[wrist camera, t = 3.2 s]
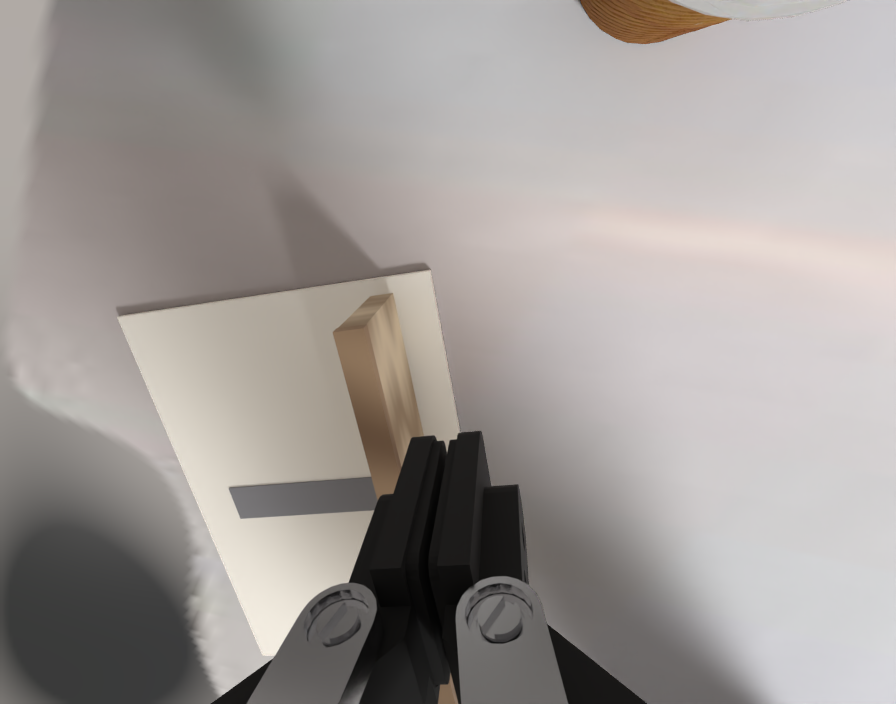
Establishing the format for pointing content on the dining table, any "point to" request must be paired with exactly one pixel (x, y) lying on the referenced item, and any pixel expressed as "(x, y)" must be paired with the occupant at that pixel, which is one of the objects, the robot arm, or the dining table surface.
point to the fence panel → (379, 387)
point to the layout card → (283, 431)
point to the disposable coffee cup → (686, 15)
